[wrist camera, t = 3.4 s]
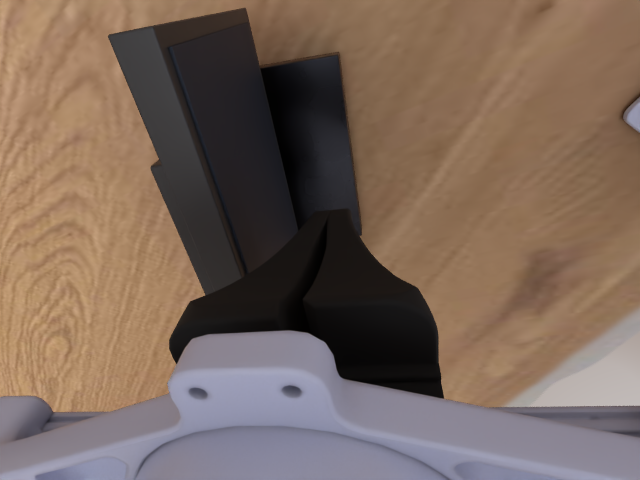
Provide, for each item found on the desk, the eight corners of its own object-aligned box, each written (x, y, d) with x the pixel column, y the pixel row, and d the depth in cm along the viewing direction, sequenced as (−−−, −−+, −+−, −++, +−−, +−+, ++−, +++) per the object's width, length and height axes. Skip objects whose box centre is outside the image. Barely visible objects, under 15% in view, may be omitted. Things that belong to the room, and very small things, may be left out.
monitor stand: (339, 51, 18) (333, 66, 15) (361, 226, 24) (361, 266, 20) (169, 81, 20) (130, 100, 17) (226, 239, 25) (205, 277, 22)
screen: (248, 6, 16) (156, 25, 9) (313, 285, 24) (291, 409, 17) (201, 16, 16) (77, 40, 9) (280, 287, 24) (246, 409, 17)
